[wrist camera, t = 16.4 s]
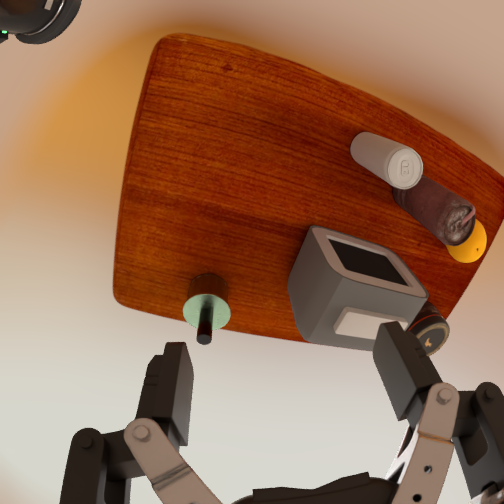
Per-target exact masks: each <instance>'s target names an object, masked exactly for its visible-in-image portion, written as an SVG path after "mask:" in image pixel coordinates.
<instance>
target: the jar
mask: <svg viewBox="0 0 504 504" xmlns="http://www.w3.org/2000/svg"><path fill="white" fill-rule="evenodd" d="M406 331H410V332H411V333H413V334H414V335H415V336H416V337H417V338H418V339H419V341H420V342H421V344H422V346H423V349H425V351H426V353H427V356H430V355H432V354H434V353H435V352H436V351H438V350H439V349H440V348H441V347H442V346H443V344H444V343H445V342H446V340H447V338H448V336H449V331H450V329H449V326H448V324H447V322H446V320H445V319H444V317H443V316H442V315H441V314H440V313H439V311H438V310H437V309H436V307H435V306H434V305H432V304H431V303H429V302H427V301H426V302H425V303H424V305H423V306H422V308H421V309H420V311H419V312H418V314H417V315H416V317H415V318H414V320H413V321H412V323H411V324H410V326H409V327H408V328H407V330H406Z"/></svg>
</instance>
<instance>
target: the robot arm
mask: <svg viewBox="0 0 504 504" xmlns="http://www.w3.org/2000/svg"><path fill="white" fill-rule="evenodd" d="M65 4H66V0H0V43H2V42H4V41H5V40H7V39H8V34H14V35H20V34H24V35H36V34H39V33H41V32H43V31H45V30H46V29H48V28H49V27H50V26H51V25H52V24H53V23H54V22H55V21H56V20H57V18H58V17H59V16H60V14H61V12H62V11H63V9H64V6H65ZM373 359H374V362H375V364H376V367H377V369H378V371H379V374H380V376H381V379H382V381H383V383H384V386H385V389H386V391H387V394H388V396H389V398H390V401H391V404H392V406H393V409H394V411H395V414H396V416H397V419H398V421H401V420H404V419H407V420H408V422H409V424H408V426H407V429H406V431H405V434H404V437H403V439H402V442H401V444H400V447H399V450H398V452H397V454H396V457H395V459H394V461H393V463H392V465H391V467H390V468H389V470H388V472H387V474H386V475H385V478H384V479H382V478H376V477H369V473H368V472H364V473H360V474H356V475H352V476H347V477H343V478H340V479H338V480H335V481H333V482H331V483H329V484H326V485H323V486H321V487H319V488H316V489H297V488H287V487H276V488H265V489H253V495H249V496H246V497H244V498H241V499H239V500H237V501H235V502H234V503H232V504H437V501H438V498H439V496H440V493H441V490H442V487H443V484H444V481H445V478H446V475H447V472H448V468H449V465H450V461H451V458H452V454H453V450H454V446H455V449H456V452H457V455H458V458H459V461H460V464H461V467H462V470H463V473H464V476H465V479H466V483H467V486H468V490H469V493H470V496H471V501H470V503H469V504H504V396H503V394H502V392H501V390H500V388H499V387H498V386H497V385H495V384H493V383H491V382H484V383H481V384H480V385H479V386H478V387H477V389H476V390H475V391H457V389H456V388H455V387H454V386H452V385H450V384H448V383H443V381H442V380H441V378H440V376H439V374H438V372H437V370H436V369H435V367H434V365H433V363H432V361H431V360H430V358H429V356H427V353H426V351H425V349H423V346H422V344H421V342H420V341H419V339H418V338H417V337H416V336H415V335H414V334H413V333H411V332H410V331H404V330H403V328H402V326H401V325H400V323H399V322H398V321H393V322H387V323H381V324H380V325H379V328H378V332H377V336H376V340H375V343H374V347H373ZM193 380H194V374H193V366H192V363H191V359H190V356H189V353H188V350H187V346H186V343H185V342H167V343H166V345H165V349H164V354H163V355H155V356H154V357H153V359H152V360H151V361H150V363H149V364H148V367H147V371H146V377H145V379H144V385H143V388H142V392H141V396H140V401H139V405H138V409H137V414H136V417H135V419H134V420H133V421H132V422H130V423H129V424H128V425H127V427H126V428H125V429H123V430H120V431H116V432H111V433H106V434H101V433H100V432H99V431H98V430H96V429H93V428H84V429H81V430H80V431H78V432H77V433H76V434H75V435H74V436H73V438H72V441H71V446H70V450H69V455H68V459H67V464H66V469H65V475H64V479H63V485H62V491H61V497H60V503H59V504H129V503H130V489H131V478H135V477H140V476H145V475H146V476H147V478H148V479H149V480H150V482H151V484H152V488H153V490H154V491H155V493H156V494H157V496H158V497H159V498H160V500H161V501H162V503H163V504H222V503H221V501H220V500H219V499H218V498H217V497H216V496H215V495H214V494H213V493H212V492H211V490H210V489H209V488H208V487H207V486H206V485H205V484H204V483H203V481H202V480H201V479H200V478H199V477H198V475H197V474H196V473H195V472H194V471H193V469H192V468H191V467H190V466H189V465H188V464H187V463H186V462H185V460H184V459H183V458H182V456H181V455H180V454H179V446H187V445H188V432H189V422H190V411H191V400H192V389H193ZM451 438H452V441H453V442H451Z"/></svg>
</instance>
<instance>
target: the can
mask: <svg viewBox="0 0 504 504" xmlns="http://www.w3.org/2000/svg"><path fill="white" fill-rule="evenodd" d="M393 195H394V199H395V201H396V203H397V204H398V205H399V206H401V207H402V208H403V209H404V210H405V211H407V212H408V213H409V214H410V215H411V216H413V217H414V218H415V219H416V220H417V221H419V222H420V223H421V224H422V225H423V226H424V227H425V228H427V229H428V230H429V231H430V232H431V233H432V234H433V235H435V236H436V237H437V238H438V239H439V240H440V241H441V242H442V243H444V244H446V245H450V246H459V245H461V244H463V243H464V242H465V241H466V240H467V239H468V238H469V237H470V236H471V234H472V232H473V230H474V227H475V222H476V218H475V207H474V205H472V204H471V203H470V202H468V201H467V200H465V199H463V198H461V197H460V196H458V195H457V194H455V193H453V192H452V191H450V190H448V189H447V188H445V187H443V186H442V185H440V184H438V183H436V182H435V181H433V180H431V179H429V178H428V177H426V176H424V175H421V178H420V180H419V181H418V183H417V184H416V185H415V186H413V187H411V188H409V189H400V188H396V187H393Z"/></svg>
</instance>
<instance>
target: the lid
mask: <svg viewBox="0 0 504 504" xmlns="http://www.w3.org/2000/svg"><path fill="white" fill-rule="evenodd" d="M183 315H184V317H185V319H186V321H187V322H188V323H189V324H191V325H192V326H193V327H195V328H197V329H198V331H197V342H198V343H200V344H202V345H206V344H209V343H210V342H211V340H212V330H217V329H219V328H221V327H223V326H224V325H226V324H227V322H228V321H229V319H230V315H231V310H230V306H229V304H228V303H227V301H226V300H225V299H224V298H222V297H221V296H219V295H217V294H214V293H209V292H202V293H197V294H194V295H192V296H191V297H189V298H188V299H187V300H186V302H185V304H184V307H183Z"/></svg>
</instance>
